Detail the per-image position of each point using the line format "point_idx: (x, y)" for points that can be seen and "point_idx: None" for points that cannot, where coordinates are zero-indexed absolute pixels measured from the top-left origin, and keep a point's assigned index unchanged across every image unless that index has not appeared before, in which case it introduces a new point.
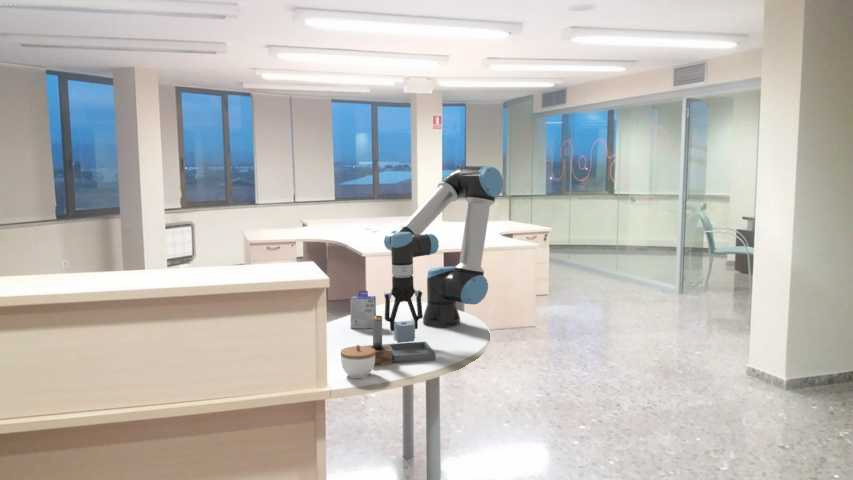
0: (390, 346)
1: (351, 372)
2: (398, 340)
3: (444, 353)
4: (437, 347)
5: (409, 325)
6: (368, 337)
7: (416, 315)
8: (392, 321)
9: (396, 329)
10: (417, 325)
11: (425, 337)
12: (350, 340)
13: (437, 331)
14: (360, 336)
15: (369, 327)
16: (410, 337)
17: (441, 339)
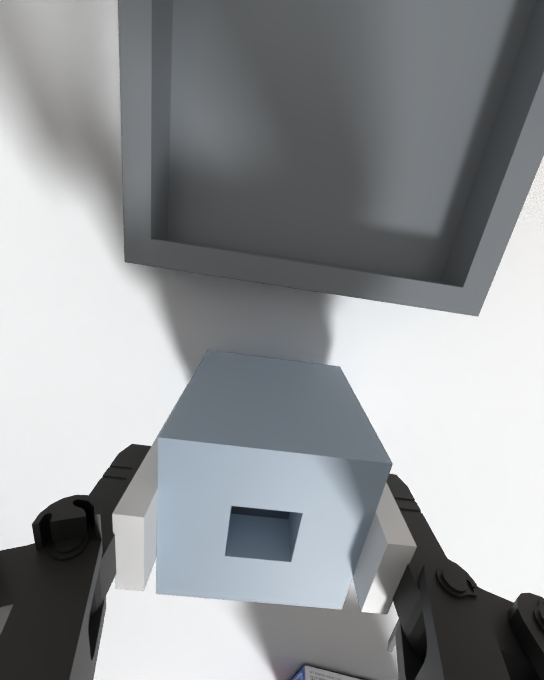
0: (488, 231)
1: None
2: (338, 373)
3: (23, 43)
4: (57, 252)
5: (222, 442)
6: None
7: (9, 620)
8: (455, 573)
9: None
10: (107, 472)
11: (96, 480)
12: (508, 562)
13: (9, 547)
14: None
15: (327, 675)
16: (234, 368)
17: (3, 415)
